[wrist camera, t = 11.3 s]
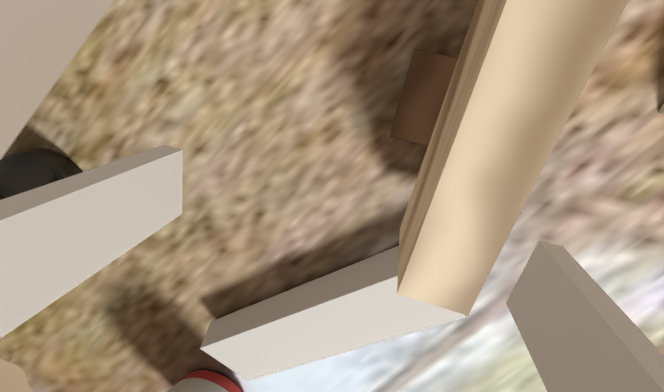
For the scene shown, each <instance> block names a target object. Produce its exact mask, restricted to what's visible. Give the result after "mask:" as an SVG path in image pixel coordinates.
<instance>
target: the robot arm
mask: <svg viewBox="0 0 664 392" xmlns="http://www.w3.org/2000/svg"><path fill="white" fill-rule="evenodd" d="M182 158H183V150H182V149H178V148H174V147H170V146H166V145H162V146H159V147H156V148H153V149H150V150H147V151H144V152H142V153H139V154H136V155H133V156H130V157H127V158H124V159H121V160H118V161H115V162H112V163H109V164H106V165H103V166H100V167H97V168H94V169H91V170H88V171H85V172H83V171H82V170H81V169H80V168H79V167H78V166H77V165H75V164H74V163H73V162H72V161H71V160H69V159H68V158H66V157H65V156H63V155H61V154H59V153H57V152H55V151H52V150H49V149H44V148H32V149H28V150H23V151H19V152H15V153H12V154H10V155H8V156H6V157H5V158H3V159H1V160H0V338H2V337H3V336H5V335H6V334H8V333H9V332H11V331H12V330H14V329H15V328H16V327H18V326H19V325H21V324H22V323H24V322H25V321H27V320H28V319H30V318H31V317H33V316H34V315H35V314H37V313H38V312H40V311H41V310H43V309H44V308H46V307H47V306H49V305H50V304H51V303H53V302H54V301H56V300H57V299H59V298H60V297H62V296H63V295H65V294H66V293H67V292H69V291H70V290H72V289H73V288H75V287H76V286H78V285H79V284H81V283H82V282H83V281H85V280H86V279H88V278H89V277H91V276H92V275H94V274H95V273H97V272H98V271H99V270H101V269H102V268H104V267H105V266H107V265H108V264H110V263H111V262H113V261H114V260H115V259H117V258H118V257H120V256H121V255H123V254H124V253H126V252H127V251H129V250H130V249H131V248H133V247H134V246H136V245H137V244H139V243H140V242H142V241H143V240H145V239H146V238H147V237H149V236H150V235H152V234H153V233H155V232H156V231H158V230H159V229H161V228H162V227H163V226H165V225H166V224H168V223H169V222H171V221H172V220H174V219H175V218H177V217H178V216H179V215H181V214H182ZM506 303H507V306H508V308H509V310H510V312H511V314H512V316H513V318H514V321H515V323H516V325H517V327H518V329H519V331H520V333H521V336H522V338H523V340H524V342H525V344H526V346H527V348H528V351H529V353H530V355H531V357H532V359H533V361H534V363H535V366H536V368H537V370H538V372H539V374H540V376H541V378H542V381H543V383H544V385H545V387H546V389H547V391H548V392H664V355H663V354H662V353H661V352H660V351H659V350H658V349H657V348H656V347H655V346H654V345H653V343H652V342H651V341H650V340H649V339H648V338H647V337H646V336H645V335H644V334H643V333H642V332H641V330H640V329H639V328H638V327H637V326H636V325H635V324H634V323H633V322H632V321H631V320H630V319H629V318H628V316H627V315H626V314H625V313H624V312H623V311H622V310H621V309H620V308H619V307H618V306H617V305H616V304H615V302H614V301H613V300H612V299H611V298H610V297H609V296H608V295H607V294H606V293H605V292H604V291H603V289H602V288H601V287H600V286H599V285H598V284H597V283H596V282H595V281H594V280H593V279H592V278H591V277H590V275H589V274H588V273H587V272H586V271H585V270H584V269H583V268H582V267H581V266H580V265H579V264H578V262H577V261H576V260H575V259H574V258H573V257H572V256H571V255H570V254H569V253H568V252H567V251H566V250H565V248H564V247H563V246H559V245H555V244H551V243H547V242H543V241H539V242H538V244H537V246H536V248H535V249H534V251H533V253H532V255H531V257H530V259H529V261H528V263H527V264H526V266H525V268H524V270H523V272H522V274H521V276H520V278H519V279H518V281H517V283H516V285H515V287H514V289H513V291H512V293H511V294H510V296H509V298H508V300H507V302H506Z"/></svg>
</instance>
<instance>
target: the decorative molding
mask: <svg viewBox="0 0 664 392" xmlns="http://www.w3.org/2000/svg"><path fill="white" fill-rule="evenodd" d="M398 258H399V246H397V247H394V248H391V249H389V250H386V251H384V252H381V253H379V254H376V255H374V256H371V257H369V258H367V259H364V260H362V261H360V262H357V263H355V264H352V265H350V266H347V267H345V268H342V269H340V270H337V271H335V272H332V273H330V274H327V275H325V276H322V277H320V278H318V279H315V280H312V281H310V282H307V283H304V284H302V285H300V286H297V287H295V288H293V289H290V290H288V291H285V292H283V293H280V294H278V295H276V296H273V297H270V298H268V299H266V300H263V301H261V302H258V303H256V304H253V305H251V306H248V307H245V308H243V309H240V310H238V311H235V312H233V313H231V314H228V315H226V316H223V317H221V318H218V319H216V320H213V321H212V322H211V323H210V326H209V328H208V330H207V333H206V335H205V337H204V340H203V342H202V345H201V347H200V349H201V350H203V351H204V352H206V353H207V354H209V355H210V356H212V357H213V358H215V359H216V360H218V361H219V362H221V363H222V364H224V365H225V366H227V367H228V368H230V369H231V370H232V371H234V372H235V373H237V374H238V375H240V376H241V377H243V378H244V379H246V380H247V381H249V380H252V379H256V378H259V377H262V376H266V375H269V374H273V373H276V372H280V371H283V370H286V369H290V368H293V367H297V366H300V365H304V364H307V363H310V362H314V361H317V360H321V359H324V358H328V357H331V356H334V355H338V354H341V353H345V352H348V351H352V350H355V349H359V348H362V347H365V346H369V345H372V344H376V343H379V342H383V341H386V340H389V339H393V338H396V337H400V336H403V335H407V334H410V333H413V332H417V331H420V330H424V329H427V328H431V327H434V326H438V325H441V324H444V323H448V322H451V321H455V320H458V319H462V318H465V317H466V315H464V314H461V313H457V312H454V311H451V310H448V309H445V308H441V307H438V306H435V305H432V304H429V303H425V302H422V301H419V300H416V299H413V298H409V297H406V296H403V295H400V294H397V282H398Z"/></svg>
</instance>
